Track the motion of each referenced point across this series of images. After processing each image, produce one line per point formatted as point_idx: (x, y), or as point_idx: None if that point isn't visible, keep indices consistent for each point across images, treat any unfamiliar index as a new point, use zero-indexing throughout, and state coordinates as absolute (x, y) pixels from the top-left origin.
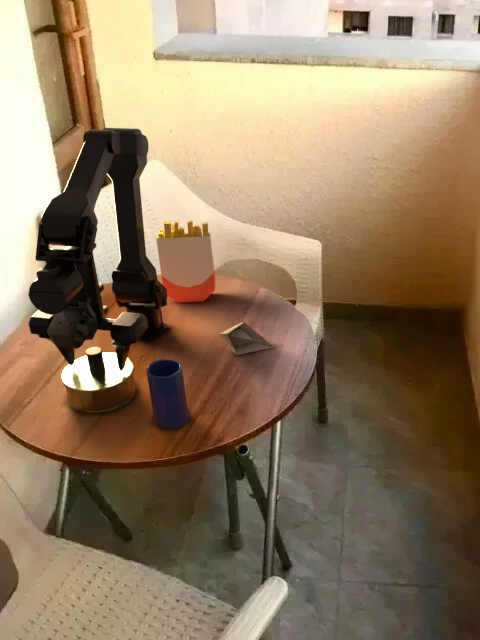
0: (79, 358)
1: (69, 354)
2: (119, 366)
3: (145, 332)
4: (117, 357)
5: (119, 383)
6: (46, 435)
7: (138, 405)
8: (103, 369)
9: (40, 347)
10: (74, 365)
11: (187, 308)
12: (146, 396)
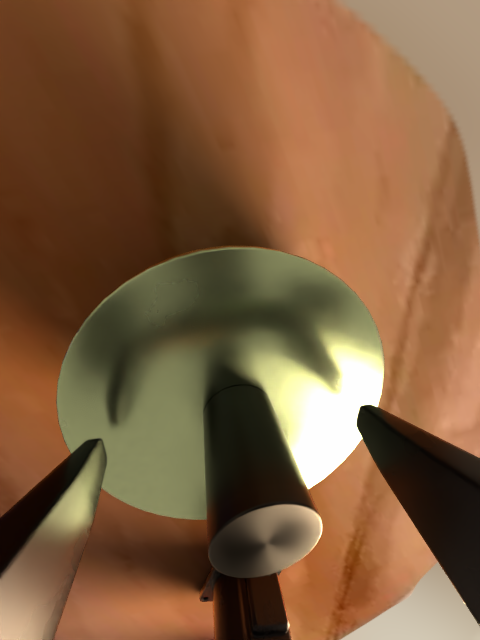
0: (346, 454)
1: (410, 459)
2: (75, 463)
3: None
4: (9, 552)
5: (65, 357)
6: (311, 75)
7: (74, 330)
8: (204, 424)
9: None
10: (350, 414)
11: (199, 637)
12: None
